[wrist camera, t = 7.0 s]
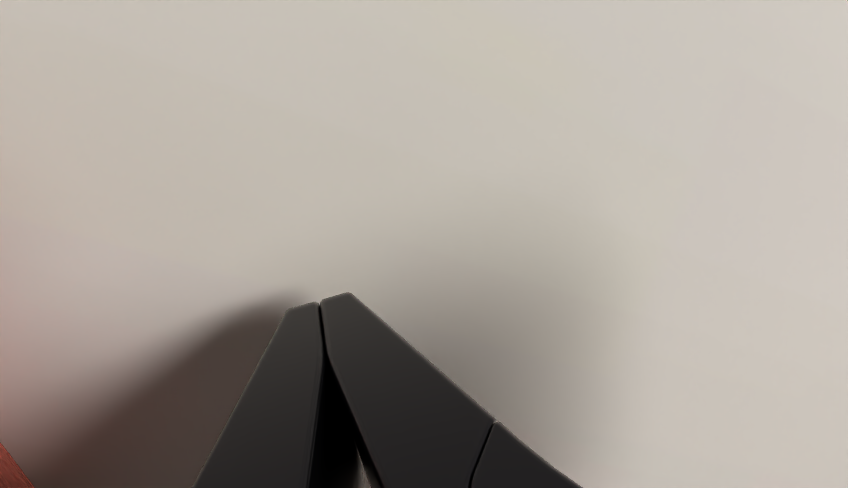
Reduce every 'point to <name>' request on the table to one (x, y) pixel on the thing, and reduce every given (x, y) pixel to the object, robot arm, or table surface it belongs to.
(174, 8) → the table surface
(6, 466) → the block
